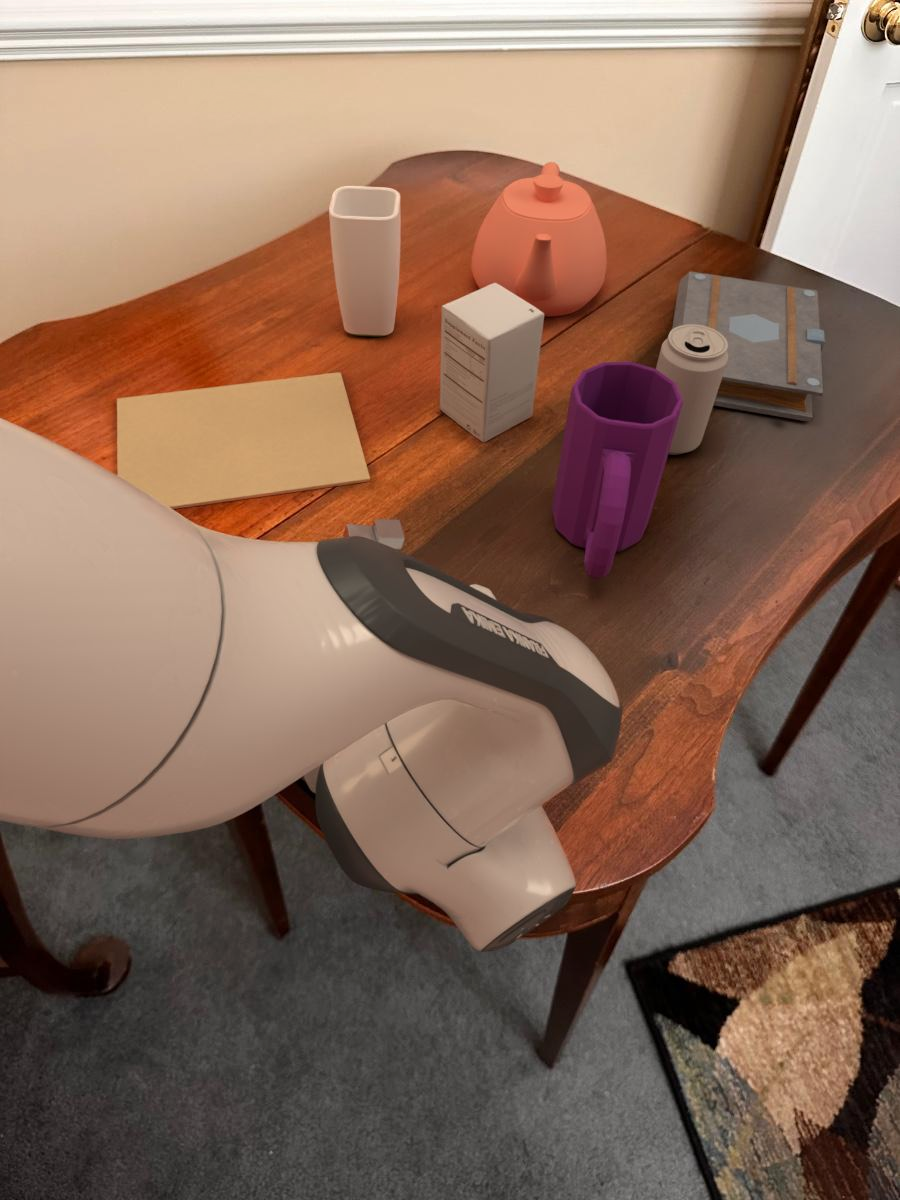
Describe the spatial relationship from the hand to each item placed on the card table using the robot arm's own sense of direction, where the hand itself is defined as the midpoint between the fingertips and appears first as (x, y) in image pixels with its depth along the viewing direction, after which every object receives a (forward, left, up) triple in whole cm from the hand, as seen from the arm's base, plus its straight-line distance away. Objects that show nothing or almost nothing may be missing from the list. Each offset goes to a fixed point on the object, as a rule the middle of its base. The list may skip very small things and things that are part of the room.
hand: (345, 593), depth 70 cm
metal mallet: (+2, -1, -1) cm, 2 cm away
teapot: (+32, +49, -5) cm, 59 cm away
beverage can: (+37, +18, -5) cm, 42 cm away
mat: (-7, +27, -5) cm, 28 cm away
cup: (+10, +45, -5) cm, 47 cm away
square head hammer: (-1, -1, -1) cm, 2 cm away
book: (+51, +30, -5) cm, 60 cm away
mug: (+24, +5, -5) cm, 25 cm away
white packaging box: (+19, +26, -5) cm, 33 cm away
